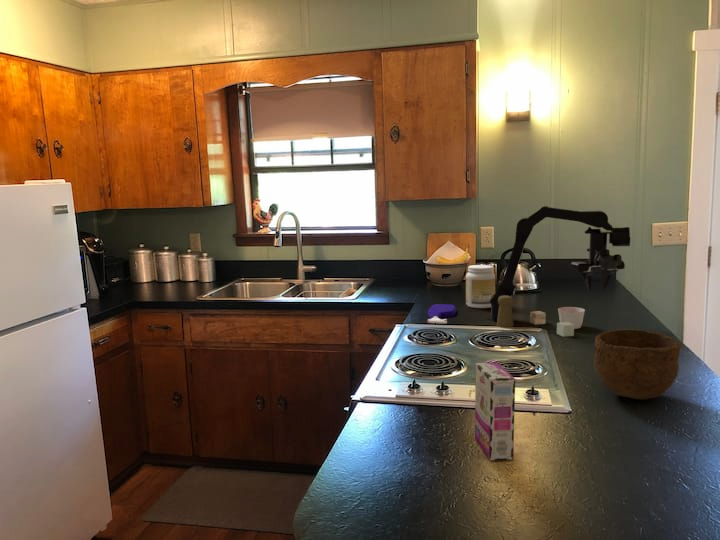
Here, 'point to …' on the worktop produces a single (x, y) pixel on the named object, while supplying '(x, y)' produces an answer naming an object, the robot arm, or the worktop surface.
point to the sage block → (565, 329)
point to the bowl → (636, 362)
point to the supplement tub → (480, 286)
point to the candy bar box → (494, 411)
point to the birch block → (537, 317)
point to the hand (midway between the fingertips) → (596, 289)
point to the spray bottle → (440, 313)
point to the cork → (505, 311)
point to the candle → (571, 315)
